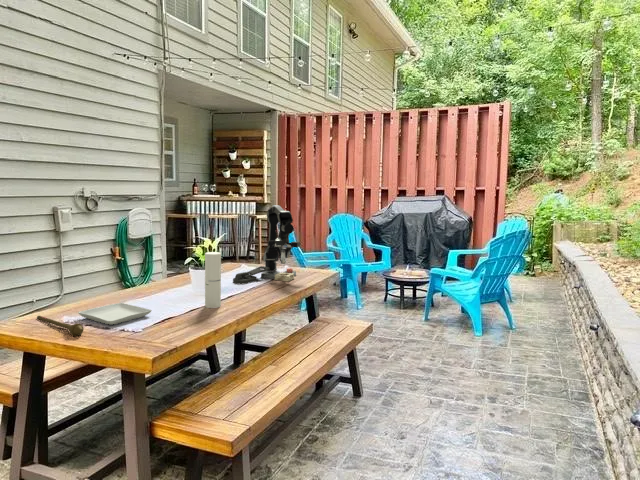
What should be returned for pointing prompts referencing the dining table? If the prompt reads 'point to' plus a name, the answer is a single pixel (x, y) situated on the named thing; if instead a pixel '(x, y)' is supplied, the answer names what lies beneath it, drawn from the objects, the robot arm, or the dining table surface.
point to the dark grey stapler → (249, 275)
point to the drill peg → (283, 255)
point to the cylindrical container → (212, 279)
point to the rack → (284, 276)
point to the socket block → (273, 274)
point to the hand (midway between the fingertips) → (283, 258)
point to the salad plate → (115, 313)
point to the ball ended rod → (65, 326)
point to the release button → (289, 270)
